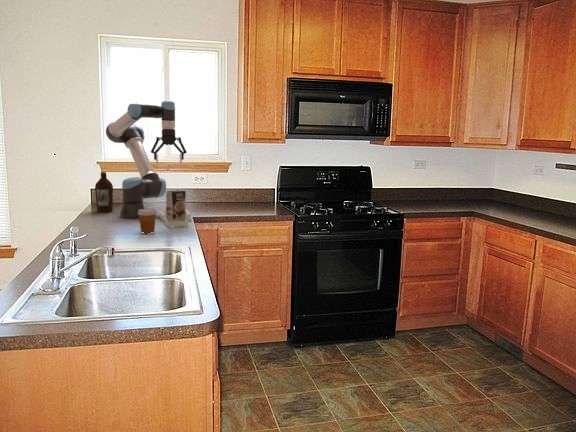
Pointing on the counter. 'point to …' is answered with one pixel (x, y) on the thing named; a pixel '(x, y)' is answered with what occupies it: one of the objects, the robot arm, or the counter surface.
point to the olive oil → (104, 194)
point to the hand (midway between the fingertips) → (169, 165)
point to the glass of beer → (147, 220)
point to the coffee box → (175, 205)
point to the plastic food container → (163, 215)
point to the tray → (176, 222)
